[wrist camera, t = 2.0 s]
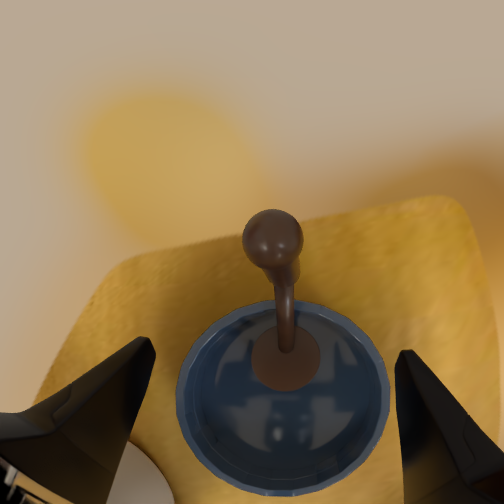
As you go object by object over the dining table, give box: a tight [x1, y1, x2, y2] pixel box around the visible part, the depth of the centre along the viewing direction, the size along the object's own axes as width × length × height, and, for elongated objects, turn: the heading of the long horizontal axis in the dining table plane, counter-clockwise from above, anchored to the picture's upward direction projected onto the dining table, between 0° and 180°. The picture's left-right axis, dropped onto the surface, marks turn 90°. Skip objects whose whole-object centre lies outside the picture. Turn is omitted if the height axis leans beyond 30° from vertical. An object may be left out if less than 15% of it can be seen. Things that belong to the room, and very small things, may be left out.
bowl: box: [176, 299, 390, 497], centre depth 17 cm, size 13×13×4 cm
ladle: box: [242, 209, 320, 391], centre depth 14 cm, size 8×4×12 cm, turn 177°
